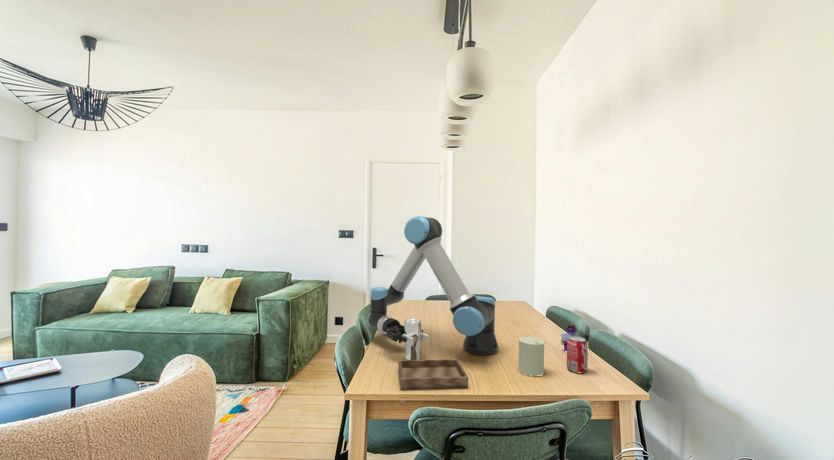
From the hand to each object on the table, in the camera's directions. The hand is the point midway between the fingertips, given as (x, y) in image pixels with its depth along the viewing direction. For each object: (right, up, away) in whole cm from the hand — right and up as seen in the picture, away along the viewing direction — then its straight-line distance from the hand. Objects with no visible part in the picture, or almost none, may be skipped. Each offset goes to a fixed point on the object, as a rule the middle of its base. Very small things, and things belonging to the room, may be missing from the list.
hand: (420, 340), depth 128 cm
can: (+41, -10, -5) cm, 42 cm away
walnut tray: (+4, -9, -12) cm, 16 cm away
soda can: (+59, -11, -3) cm, 60 cm away
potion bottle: (+66, -11, +17) cm, 69 cm away
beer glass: (-3, -9, +4) cm, 10 cm away
